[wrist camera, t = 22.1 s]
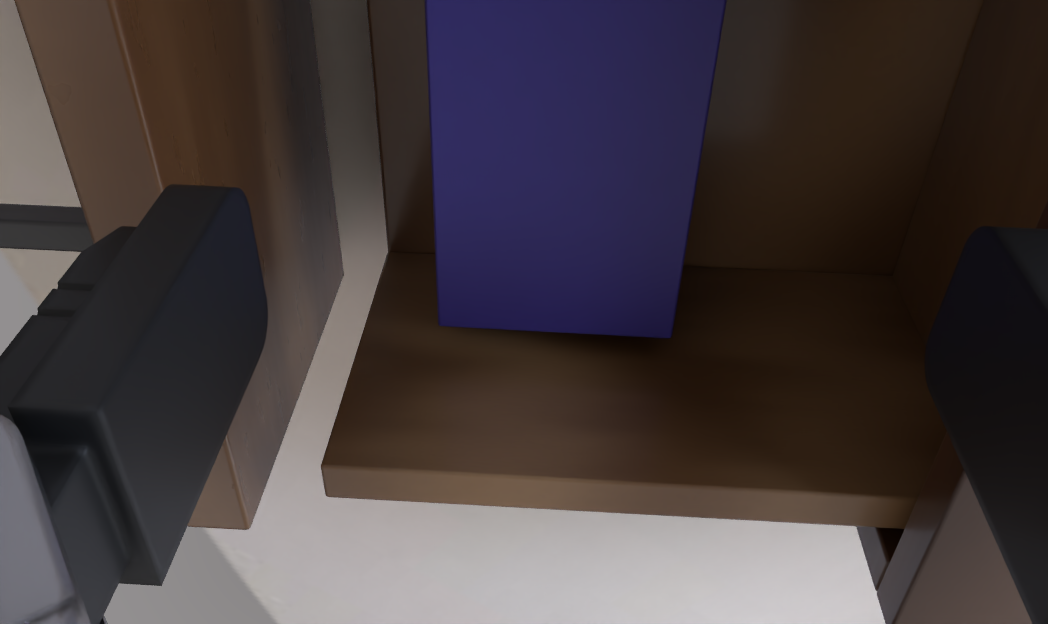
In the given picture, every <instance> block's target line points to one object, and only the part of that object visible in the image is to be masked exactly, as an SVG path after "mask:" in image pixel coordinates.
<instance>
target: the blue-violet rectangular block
mask: <svg viewBox="0 0 1048 624" xmlns="http://www.w3.org/2000/svg"><path fill="white" fill-rule="evenodd" d="M726 2H727V0H425V23H426V47H427V70H428V94H429V118H430V142H431V166H432V190H433V214H434V238H435V262H436V286H437V310H438V324H439V326H446V327H465V328H483V329H502V330H520V331H539V332H558V333H576V334H595V335H614V336H632V337H651V338H671V336H672V333H673V327H674V320H675V314H676V308H677V302H678V296H679V290H680V284H681V278H682V271H683V265H684V259H685V253H686V247H687V241H688V235H689V229H690V222H691V216H692V210H693V204H694V198H695V192H696V186H697V180H698V173H699V167H700V161H701V155H702V149H703V143H704V137H705V131H706V124H707V118H708V112H709V106H710V100H711V94H712V88H713V81H714V75H715V69H716V63H717V57H718V51H719V45H720V39H721V32H722V26H723V20H724V14H725V8H726Z"/></svg>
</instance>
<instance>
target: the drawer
mask: <svg viewBox="0 0 1048 624" xmlns="http://www.w3.org/2000/svg"><path fill="white" fill-rule="evenodd" d="M14 1H15V4H16V7H17V10H18V13H19V16H20V19H21V22H22V25H23V28H24V32H25V35H26V38H27V41H28V44H29V47H30V50H31V53H32V56H33V59H34V62H35V65H36V68H37V72H38V75H39V78H40V81H41V84H42V87H43V90H44V93H45V96H46V99H47V102H48V105H49V108H50V112H51V115H52V118H53V121H54V124H55V127H56V130H57V133H58V136H59V139H60V142H61V145H62V148H63V152H64V155H65V158H66V161H67V164H68V167H69V170H70V173H71V176H72V179H73V182H74V185H75V188H76V192H77V195H78V198H79V201H80V204H81V207H63V206H42V205H20V204H0V248H14V249H35V250H56V251H77V252H82V251H84V250H85V249H87V248H88V247H90V246H91V245H93V244H94V243H96V242H98V241H99V240H101V239H102V238H104V237H105V236H107V235H108V234H110V233H111V232H113V231H114V230H116V229H117V228H119V227H121V226H130V227H137V226H138V225H139V223H140V222H141V221H142V219H143V218H144V216H145V215H146V214H147V212H148V211H149V209H150V208H151V207H152V205H153V204H154V203H155V201H156V200H157V198H158V197H159V196H160V194H161V193H162V191H163V190H164V189H165V188H166V187H167V186H169V185H171V184H181V185H202V186H222V187H238V188H240V189H241V190H242V191H243V192H244V193H245V195H246V197H247V200H248V203H249V207H250V212H251V217H252V222H253V228H254V233H255V238H256V244H257V249H258V254H259V259H260V265H261V270H262V275H263V280H264V286H265V291H266V296H267V304H268V326H267V334H266V340H265V344H264V348H263V351H262V354H261V356H260V358H259V361H258V363H257V365H256V368H255V370H254V372H253V375H252V377H251V379H250V382H249V384H248V386H247V389H246V391H245V393H244V396H243V398H242V400H241V403H240V405H239V407H238V409H237V412H236V414H235V416H234V419H233V421H232V423H231V426H230V428H229V430H228V433H227V435H226V437H225V440H224V442H223V444H222V447H221V449H220V451H219V454H218V456H217V458H216V460H215V463H214V465H213V467H212V470H211V472H210V474H209V477H208V479H207V481H206V484H205V486H204V488H203V491H202V493H201V495H200V498H199V500H198V502H197V505H196V507H195V509H194V511H193V514H192V516H191V518H190V521H189V523H188V525H187V526H189V527H190V526H191V527H206V528H224V529H242V530H247V529H249V528H250V527H251V524H252V522H253V519H254V516H255V514H256V511H257V508H258V506H259V503H260V500H261V497H262V495H263V492H264V489H265V487H266V484H267V481H268V479H269V476H270V473H271V470H272V468H273V465H274V462H275V460H276V457H277V454H278V451H279V449H280V446H281V443H282V441H283V438H284V435H285V433H286V430H287V427H288V424H289V422H290V419H291V416H292V414H293V411H294V408H295V406H296V403H297V400H298V397H299V395H300V392H301V389H302V387H303V384H304V381H305V378H306V376H307V373H308V370H309V368H310V365H311V362H312V360H313V357H314V354H315V351H316V349H317V346H318V343H319V341H320V338H321V335H322V333H323V330H324V327H325V324H326V322H327V319H328V316H329V314H330V311H331V308H332V305H333V303H334V300H335V297H336V295H337V292H338V289H339V287H340V284H341V281H342V278H343V276H344V271H343V263H342V255H341V247H340V239H339V231H338V223H337V215H336V207H335V199H334V191H333V183H332V175H331V167H330V159H329V151H328V143H327V135H326V127H325V119H324V111H323V103H322V95H321V87H320V79H319V71H318V63H317V55H316V47H315V39H314V31H313V23H312V15H311V7H310V0H14ZM366 1H367V12H368V24H369V36H370V47H371V59H372V70H373V82H374V94H375V105H376V117H377V128H378V140H379V151H380V163H381V175H382V186H383V198H384V209H385V221H386V233H387V244H388V254H387V256H386V260H385V263H384V266H383V269H382V272H381V276H380V279H379V282H378V285H377V288H376V292H375V295H374V298H373V301H372V304H371V307H370V311H369V314H368V317H367V320H366V323H365V327H364V330H363V333H362V336H361V339H360V343H359V346H358V349H357V352H356V355H355V359H354V362H353V365H352V368H351V371H350V375H349V378H348V381H347V384H346V387H345V391H344V394H343V397H342V400H341V403H340V406H339V410H338V413H337V416H336V419H335V422H334V426H333V429H332V432H331V435H330V438H329V442H328V445H327V448H326V451H325V454H324V458H323V461H322V464H321V470H322V476H323V482H324V488H325V494H326V496H328V497H339V498H357V499H375V500H393V501H411V502H429V503H447V504H465V505H483V506H501V507H519V508H537V509H555V510H573V511H591V512H609V513H627V514H645V515H663V516H681V517H699V518H717V519H735V520H753V521H771V522H789V523H807V524H825V525H843V526H861V527H879V528H897V529H905V527H906V524H907V522H908V520H909V518H910V515H911V513H912V511H913V508H914V506H915V504H916V501H917V499H918V497H919V494H920V492H921V490H922V488H923V485H924V483H925V481H926V478H927V476H928V474H929V471H930V469H931V467H932V465H933V462H934V460H935V458H936V455H937V453H938V451H939V448H940V446H941V444H942V442H943V439H944V437H945V435H946V432H947V430H946V428H945V426H944V424H943V421H942V419H941V417H940V415H939V412H938V410H937V408H936V406H935V403H934V401H933V399H932V397H931V394H930V392H929V389H928V386H927V382H926V376H925V350H926V344H927V340H928V337H929V334H930V331H931V328H932V326H933V323H934V321H935V318H936V316H937V313H938V311H939V308H940V306H941V303H942V301H943V298H944V296H945V293H946V291H947V288H948V286H949V283H950V280H951V278H952V275H953V273H954V270H955V268H956V265H957V263H958V260H959V258H960V255H961V253H962V250H963V248H964V245H965V243H966V241H967V239H968V238H969V236H970V235H971V234H972V232H973V231H974V230H976V229H977V228H979V227H981V226H995V227H1015V228H1035V227H1036V225H1037V223H1038V220H1039V218H1040V216H1041V214H1042V211H1043V209H1044V207H1045V204H1046V202H1047V200H1048V0H727V2H726V8H725V14H724V20H723V26H722V32H721V39H720V45H719V51H718V57H717V63H716V69H715V75H714V81H713V88H712V94H711V100H710V106H709V112H708V118H707V124H706V131H705V137H704V143H703V149H702V155H701V161H700V167H699V173H698V180H697V186H696V192H695V198H694V204H693V210H692V216H691V222H690V229H689V235H688V241H687V247H686V253H685V259H684V265H683V271H682V278H681V284H680V290H679V296H678V302H677V308H676V314H675V320H674V327H673V333H672V336H671V338H651V337H632V336H614V335H595V334H576V333H558V332H539V331H520V330H502V329H483V328H465V327H446V326H439V324H438V310H437V286H436V262H435V238H434V214H433V190H432V166H431V142H430V118H429V94H428V70H427V47H426V23H425V0H366Z"/></svg>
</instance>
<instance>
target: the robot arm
mask: <svg viewBox="0 0 1048 624" xmlns="http://www.w3.org/2000/svg"><path fill="white" fill-rule="evenodd" d="M267 326H268V304H267V296H266V291H265V286H264V280H263V275H262V270H261V265H260V259H259V254H258V249H257V244H256V238H255V233H254V228H253V222H252V217H251V212H250V207H249V203H248V200H247V197H246V195H245V193H244V192H243V191H242V190H241V189H240V188H238V187H222V186H202V185H181V184H171V185H169V186H167V187H166V188H165V189H164V190H163V191H162V193H161V194H160V196H159V197H158V198H157V200H156V201H155V203H154V204H153V205H152V207H151V208H150V209H149V211H148V212H147V214H146V215H145V216H144V218H143V219H142V221H141V222H140V223H139V225H138V226H137V227H130V226H121V227H119V228H117V229H116V230H114V231H113V232H111V233H110V234H108V235H107V236H105V237H104V238H102V239H101V240H99V241H98V242H96V243H94V244H93V245H91V246H90V247H88V248H87V249H85V250H84V251H82V252H81V253H80V255H79V256H78V257H77V259H76V260H75V261H74V262H73V264H72V265H71V266H70V267H69V269H68V270H67V271H66V273H65V274H64V275H63V276H62V278H61V279H60V280H59V282H58V289H52V291H51V292H50V293H49V294H48V296H47V297H46V298H45V300H44V301H43V302H42V303H41V305H40V306H39V307H38V314H37V315H32V316H31V318H30V319H29V320H28V322H27V323H26V324H25V325H24V327H23V328H22V329H21V330H20V332H19V333H18V334H17V335H16V337H15V338H14V339H13V341H12V342H11V343H10V344H9V346H8V347H7V348H6V350H5V351H4V352H3V353H2V355H1V356H0V624H108V623H107V621H106V619H105V617H104V613H105V611H106V609H107V606H108V605H109V602H110V600H111V598H112V596H113V594H114V592H115V590H116V588H117V586H118V584H119V583H124V584H140V585H157V586H162V583H163V581H164V579H165V576H166V574H167V572H168V569H169V567H170V565H171V562H172V560H173V558H174V555H175V553H176V551H177V548H178V546H179V544H180V541H181V539H182V537H183V535H184V532H185V530H186V528H187V525H188V523H189V521H190V518H191V516H192V514H193V511H194V509H195V507H196V505H197V502H198V500H199V498H200V495H201V493H202V491H203V488H204V486H205V484H206V481H207V479H208V477H209V474H210V472H211V470H212V467H213V465H214V463H215V460H216V458H217V456H218V454H219V451H220V449H221V447H222V444H223V442H224V440H225V437H226V435H227V433H228V430H229V428H230V426H231V423H232V421H233V419H234V416H235V414H236V412H237V409H238V407H239V405H240V403H241V400H242V398H243V396H244V393H245V391H246V389H247V386H248V384H249V382H250V379H251V377H252V375H253V372H254V370H255V368H256V365H257V363H258V361H259V358H260V356H261V354H262V351H263V348H264V344H265V340H266V334H267ZM925 376H926V382H927V386H928V389H929V392H930V394H931V397H932V399H933V401H934V403H935V406H936V408H937V410H938V412H939V415H940V417H941V419H942V421H943V424H944V426H945V428H946V430H947V433H948V435H949V437H950V439H951V442H952V444H953V446H954V448H955V451H956V453H957V455H958V457H959V460H960V462H961V464H962V466H963V469H964V471H965V473H966V475H967V478H968V480H969V482H970V484H971V487H972V489H973V491H974V493H975V496H976V498H977V500H978V502H979V505H980V507H981V509H982V511H983V514H984V516H985V518H986V520H987V523H988V525H989V527H990V529H991V532H992V534H993V536H994V538H995V541H996V543H997V545H998V547H999V550H1000V552H1001V554H1002V556H1003V559H1004V561H1005V563H1006V565H1007V568H1008V570H1009V572H1010V574H1011V577H1012V579H1013V581H1014V583H1015V586H1016V588H1017V590H1018V592H1019V595H1020V597H1021V599H1022V601H1023V604H1024V606H1025V608H1026V610H1027V613H1028V615H1029V617H1030V619H1031V622H1032V624H1048V229H1036V228H1015V227H995V226H981V227H979V228H977V229H976V230H974V231H973V232H972V234H971V235H970V236H969V238H968V239H967V241H966V243H965V245H964V248H963V250H962V253H961V255H960V258H959V260H958V263H957V265H956V268H955V270H954V273H953V275H952V278H951V280H950V283H949V286H948V288H947V291H946V293H945V296H944V298H943V301H942V303H941V306H940V308H939V311H938V313H937V316H936V318H935V321H934V323H933V326H932V328H931V331H930V334H929V337H928V340H927V344H926V350H925Z"/></svg>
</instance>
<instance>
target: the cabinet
mask: <svg viewBox="0 0 1048 624" xmlns="http://www.w3.org/2000/svg"><path fill="white" fill-rule="evenodd" d="M1035 228H1036V229H1048V200H1047V202H1046V204H1045V207H1044V209H1043V211H1042V214H1041V216H1040V218H1039V220H1038V223H1037V225H1036V227H1035ZM856 527H857V530H858V533H859V537H860V540H861V543H862V547H863V550H864V553H865V557H866V560H867V563H868V567H869V570H870V573H871V577H872V580H873V583H874V587H875V589H876V591H877V596H878V600H879V603H880V606H881V610H882V613H883V616H884V620H885V623H886V624H1032V622H1031V619H1030V617H1029V615H1028V613H1027V610H1026V608H1025V606H1024V604H1023V601H1022V599H1021V597H1020V595H1019V592H1018V590H1017V588H1016V586H1015V583H1014V581H1013V579H1012V577H1011V574H1010V572H1009V570H1008V568H1007V565H1006V563H1005V561H1004V559H1003V556H1002V554H1001V552H1000V550H999V547H998V545H997V543H996V541H995V538H994V536H993V534H992V532H991V529H990V527H989V525H988V523H987V520H986V518H985V516H984V514H983V511H982V509H981V507H980V505H979V502H978V500H977V498H976V496H975V493H974V491H973V489H972V487H971V484H970V482H969V480H968V478H967V475H966V473H965V471H964V469H963V466H962V464H961V462H960V460H959V457H958V455H957V453H956V451H955V448H954V446H953V444H952V442H951V439H950V437H949V435H948V433H947V432H946V435H945V437H944V439H943V442H942V444H941V446H940V448H939V451H938V453H937V455H936V458H935V460H934V462H933V465H932V467H931V469H930V471H929V474H928V476H927V478H926V481H925V483H924V485H923V488H922V490H921V492H920V494H919V497H918V499H917V501H916V504H915V506H914V508H913V511H912V513H911V515H910V518H909V520H908V522H907V524H906V527H905V529H897V528H879V527H861V526H856Z"/></svg>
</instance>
